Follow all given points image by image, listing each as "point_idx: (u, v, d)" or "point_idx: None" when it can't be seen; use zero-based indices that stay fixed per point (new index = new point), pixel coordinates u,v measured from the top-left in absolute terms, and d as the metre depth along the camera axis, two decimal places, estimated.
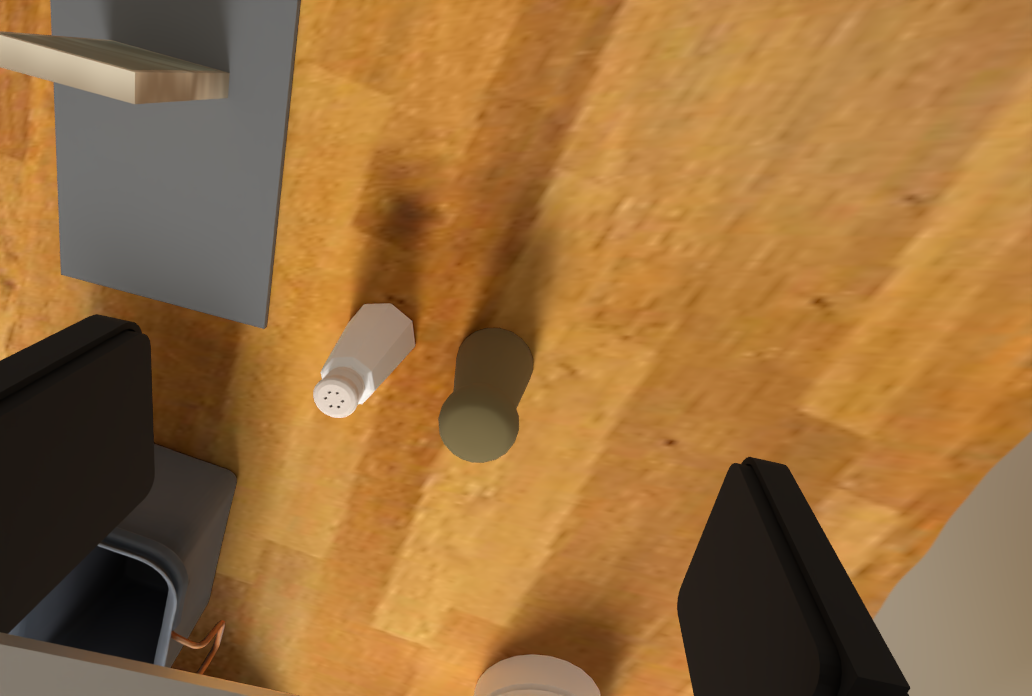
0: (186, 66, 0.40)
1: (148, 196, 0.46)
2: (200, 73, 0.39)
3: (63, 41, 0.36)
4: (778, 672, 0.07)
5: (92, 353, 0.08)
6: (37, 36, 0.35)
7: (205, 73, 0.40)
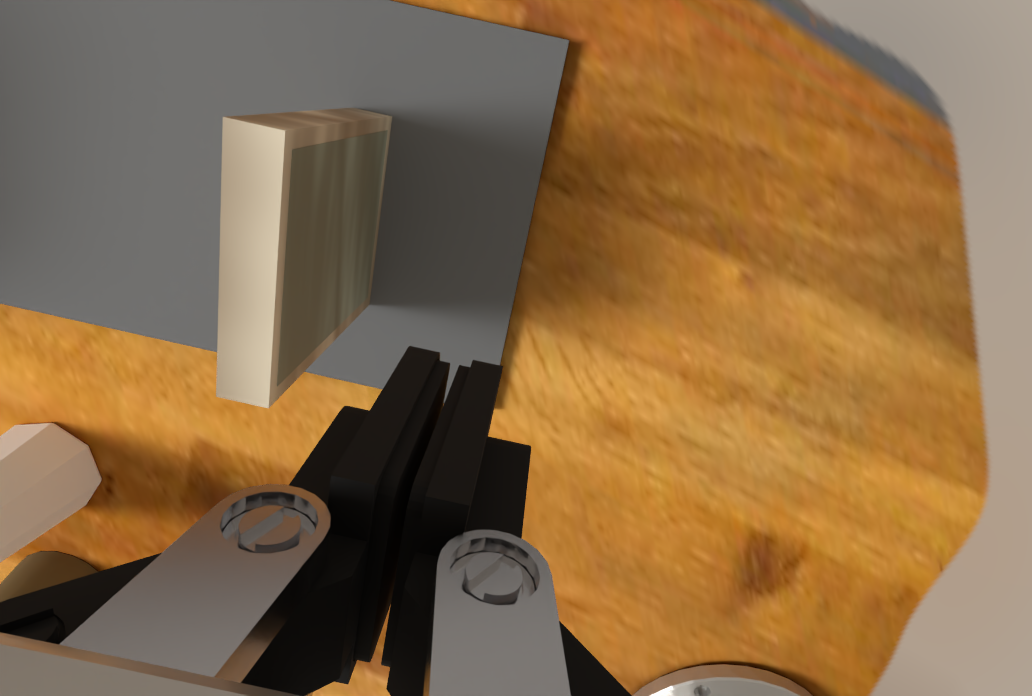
0: (353, 293, 0.25)
1: (151, 132, 0.26)
2: (340, 332, 0.25)
3: (331, 175, 0.20)
4: None
5: (431, 382, 0.10)
6: (324, 150, 0.19)
7: (346, 326, 0.25)
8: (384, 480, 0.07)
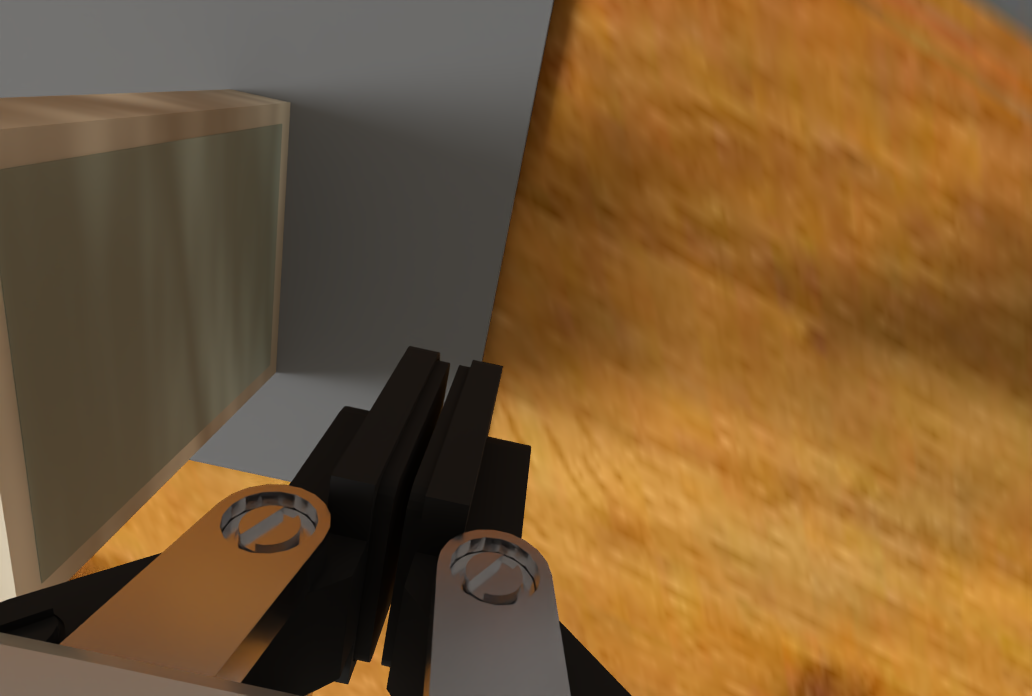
0: (235, 370, 0.17)
1: None
2: (215, 430, 0.17)
3: (141, 207, 0.11)
4: None
5: (431, 382, 0.10)
6: (107, 165, 0.10)
7: (227, 418, 0.17)
8: (384, 480, 0.07)
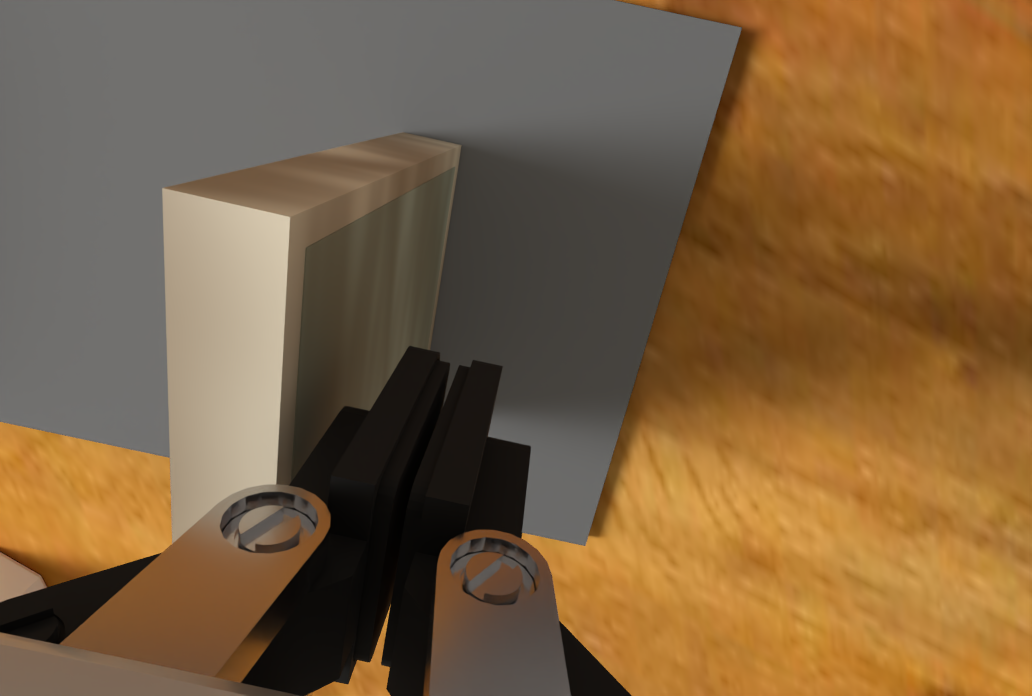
0: None
1: (104, 170, 0.18)
2: None
3: (376, 263, 0.12)
4: None
5: (431, 382, 0.10)
6: (365, 228, 0.10)
7: None
8: (384, 480, 0.07)
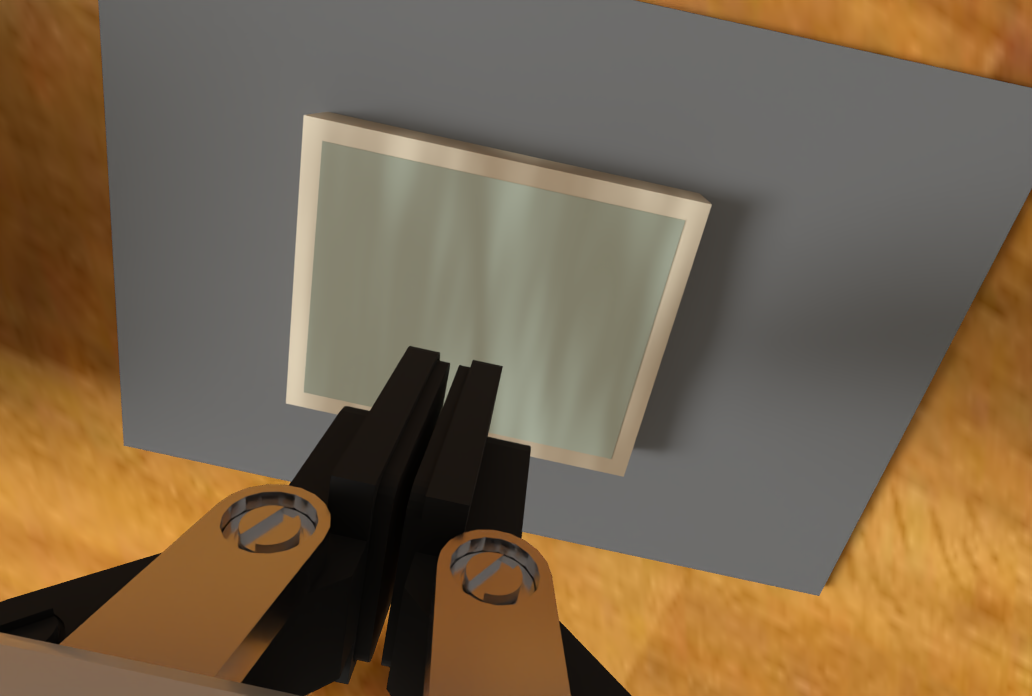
0: (542, 416, 0.18)
1: None
2: None
3: (441, 211, 0.16)
4: None
5: (431, 382, 0.10)
6: (412, 170, 0.15)
7: None
8: (384, 480, 0.07)
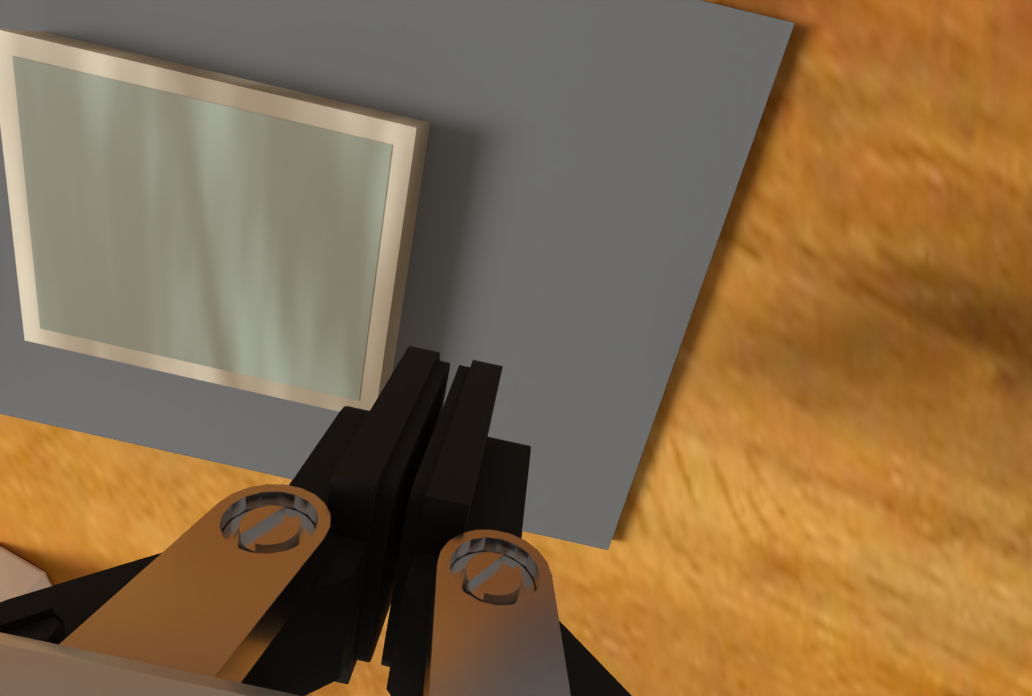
0: (282, 355, 0.17)
1: None
2: (250, 390, 0.18)
3: (145, 133, 0.15)
4: None
5: (431, 382, 0.10)
6: (109, 88, 0.15)
7: (272, 394, 0.18)
8: (384, 480, 0.07)
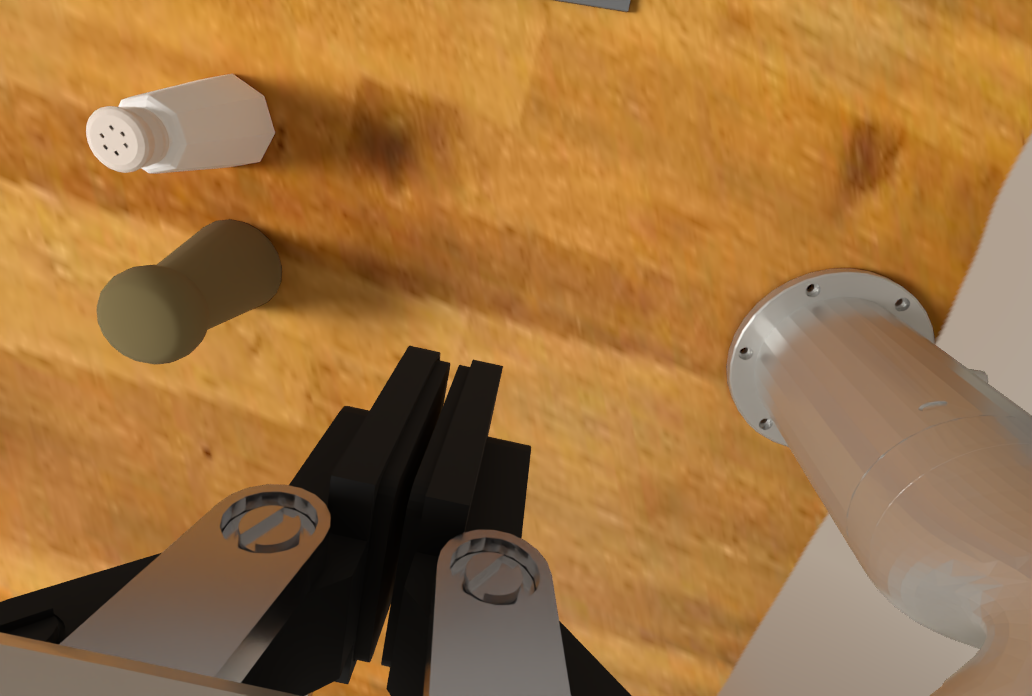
0: None
1: None
2: None
3: None
4: None
5: (431, 382, 0.10)
6: None
7: None
8: (384, 480, 0.07)
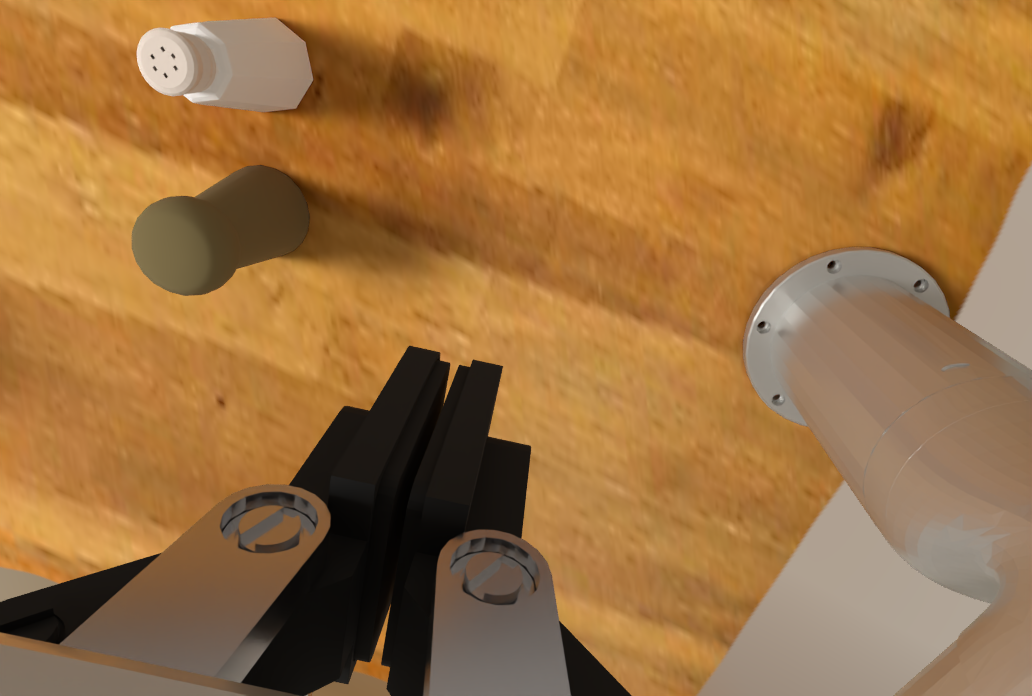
0: None
1: None
2: None
3: None
4: None
5: (431, 382, 0.10)
6: None
7: None
8: (384, 480, 0.07)
